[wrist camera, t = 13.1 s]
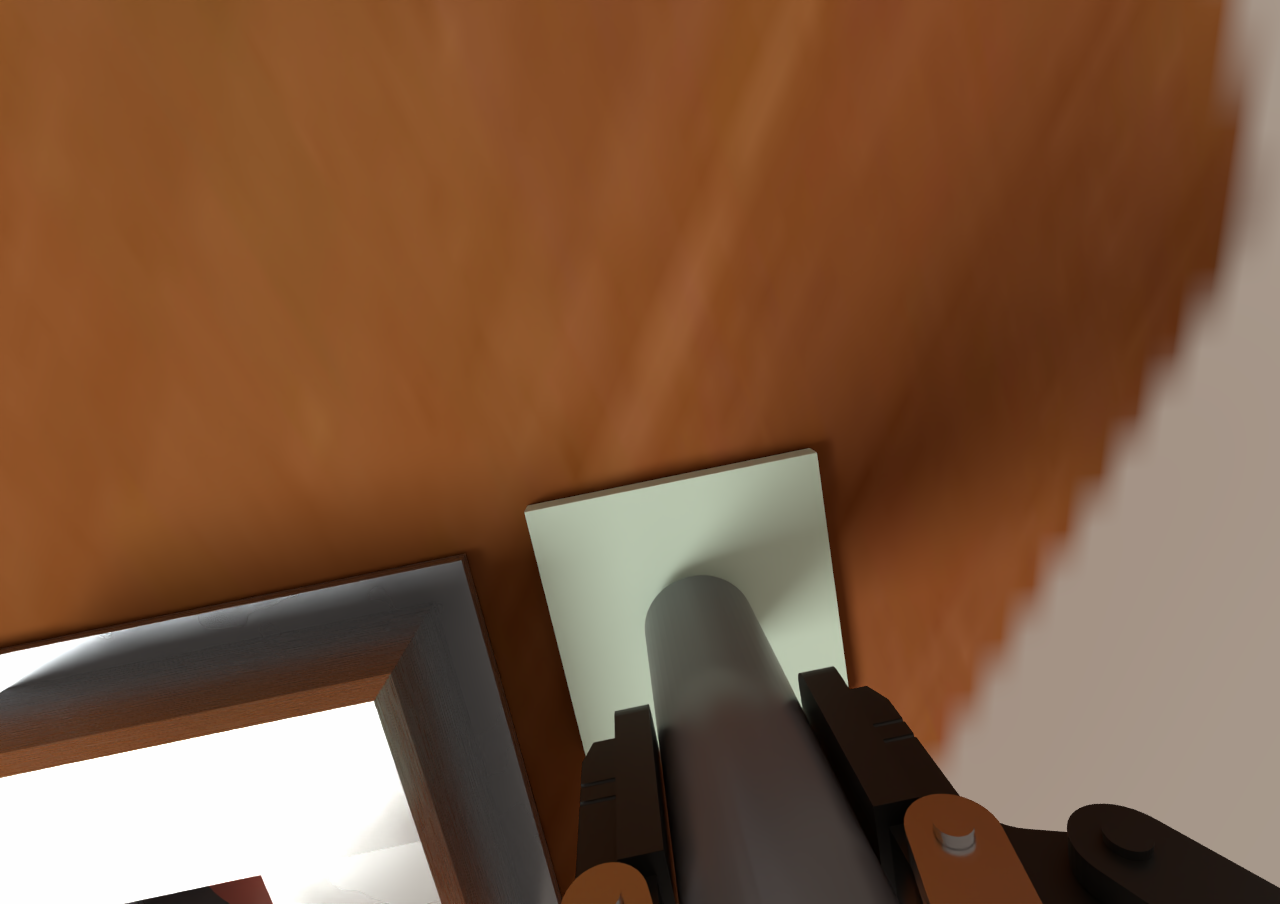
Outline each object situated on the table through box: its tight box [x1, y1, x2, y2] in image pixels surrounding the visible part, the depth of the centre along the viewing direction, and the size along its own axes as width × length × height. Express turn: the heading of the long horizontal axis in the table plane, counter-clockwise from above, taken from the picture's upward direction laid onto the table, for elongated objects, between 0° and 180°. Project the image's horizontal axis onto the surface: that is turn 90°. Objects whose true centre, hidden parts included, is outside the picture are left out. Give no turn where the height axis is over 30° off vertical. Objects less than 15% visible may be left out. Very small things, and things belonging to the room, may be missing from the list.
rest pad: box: [524, 448, 848, 755], centre depth 17 cm, size 8×8×1 cm
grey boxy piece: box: [0, 553, 562, 904], centre depth 16 cm, size 14×14×5 cm
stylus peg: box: [645, 575, 900, 904], centre depth 11 cm, size 3×3×12 cm
